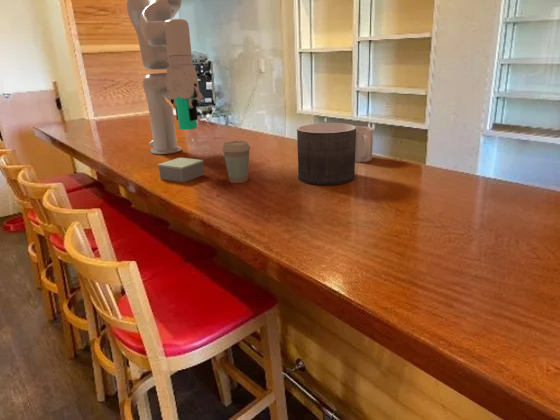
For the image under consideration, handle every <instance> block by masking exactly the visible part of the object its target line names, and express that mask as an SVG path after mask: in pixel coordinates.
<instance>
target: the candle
mask: <svg viewBox="0 0 560 420" xmlns="http://www.w3.org/2000/svg"><path fill="white" fill-rule="evenodd" d="M191 98H193V97H191ZM192 103H193V100H192ZM176 107H177V115H178V120H177V121H178V122H177V123H178V129H179V130H183V131H184V130H185V131H187V130H195V129H198V124H197V123H198V122H197V120H193V121H190V116H189V108H190V106H189V103H188V99H182V98H180V97H177V99H176Z"/></svg>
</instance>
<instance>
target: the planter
mask: <svg viewBox="0 0 560 420" xmlns="http://www.w3.org/2000/svg"><path fill="white" fill-rule="evenodd" d="M356 127H357V126H356V125H353V124H348V123H341V122H340V123H338V122H337V123H336V122H325V123H324V122H322V123H321V122H320V123H308V124H304V125H300V126H298V127H297V128H296V133H297V134H296V135H297V136H296V141H297V143H296V145H297V170H298V171H297V173H298V175H297V178H298V180H299V181H301V182H303V183H304V184H308V185H315V186H336V185H343V184H347V183H350V182H352V181H354V179H355V178H356V177H355V176H356V174H355V172H356V170H355V169H356V162H355V149H356Z"/></svg>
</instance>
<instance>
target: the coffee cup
mask: <svg viewBox="0 0 560 420" xmlns="http://www.w3.org/2000/svg"><path fill="white" fill-rule="evenodd" d="M250 147H251V146H250V144H249V142H248V141H245V140H231V141H226V142H224V143H223V146H222V152H223V155H224V161H225V165H226V171H227V177H228V180H229V182H230V183H232V184H241V183H246V182H247V181H249V163H250V150H251V148H250Z"/></svg>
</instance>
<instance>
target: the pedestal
mask: <svg viewBox="0 0 560 420" xmlns="http://www.w3.org/2000/svg"><path fill="white" fill-rule="evenodd" d="M157 167H158V169H159V175H160V180H164V181H171V182H177V183H183V184H184V183H186V182H188V181H189V182H190V181H192V180H194V179H197V178H199V177H201V176H204V175H205V171H204V159H199V158H198V159H196V158H187V157H176V158H173V159H171V160H167V161H164V162H161V163H158V164H157Z"/></svg>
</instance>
